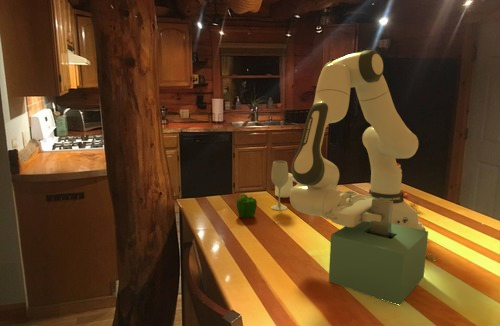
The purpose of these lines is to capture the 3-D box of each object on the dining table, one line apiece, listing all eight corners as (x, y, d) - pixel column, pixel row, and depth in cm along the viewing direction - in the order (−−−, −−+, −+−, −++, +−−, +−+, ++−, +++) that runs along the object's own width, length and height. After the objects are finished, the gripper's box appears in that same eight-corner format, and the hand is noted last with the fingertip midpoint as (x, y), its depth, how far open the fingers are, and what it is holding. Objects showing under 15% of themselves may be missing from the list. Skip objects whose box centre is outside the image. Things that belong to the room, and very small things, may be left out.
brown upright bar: (369, 233, 114) (372, 199, 112) (373, 231, 115) (375, 197, 113) (387, 238, 110) (389, 203, 108) (390, 235, 112) (393, 201, 110)
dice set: (436, 263, 128) (436, 257, 127) (418, 260, 130) (419, 254, 129) (435, 257, 132) (436, 251, 132) (419, 254, 134) (419, 249, 134)
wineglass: (290, 207, 182) (291, 161, 178) (282, 211, 176) (283, 164, 171) (275, 204, 186) (276, 159, 182) (267, 208, 180) (268, 162, 175)
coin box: (328, 281, 114) (331, 234, 111) (358, 258, 129) (361, 216, 127) (399, 306, 102) (404, 254, 99) (423, 277, 117) (428, 231, 114)
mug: (297, 199, 195) (298, 177, 192) (273, 197, 198) (273, 175, 196) (300, 194, 203) (301, 173, 201) (277, 192, 206) (277, 172, 204)
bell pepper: (257, 213, 172) (257, 191, 170) (255, 220, 164) (256, 196, 162) (237, 213, 173) (237, 190, 171) (235, 219, 165) (235, 195, 163)
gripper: (322, 204, 111) (370, 215, 103) (354, 189, 127) (398, 197, 118) (321, 226, 113) (368, 238, 104) (353, 208, 128) (396, 218, 120)
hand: (384, 216), depth 111 cm, fingers closed on brown upright bar, 2 cm apart
